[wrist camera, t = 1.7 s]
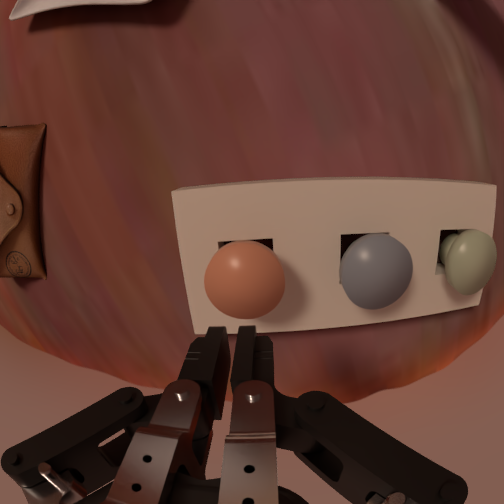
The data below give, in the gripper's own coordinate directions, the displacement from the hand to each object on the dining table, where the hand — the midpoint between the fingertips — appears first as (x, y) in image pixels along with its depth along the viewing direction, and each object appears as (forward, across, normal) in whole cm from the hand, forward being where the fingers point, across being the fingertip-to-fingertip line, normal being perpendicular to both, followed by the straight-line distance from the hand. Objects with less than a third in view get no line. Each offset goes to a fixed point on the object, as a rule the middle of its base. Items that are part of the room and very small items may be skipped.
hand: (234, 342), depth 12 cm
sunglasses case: (+13, +25, -8) cm, 29 cm away
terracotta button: (+10, 0, 0) cm, 10 cm away
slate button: (+10, -9, 0) cm, 13 cm away
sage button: (+10, -18, 0) cm, 21 cm away
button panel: (+12, -9, 0) cm, 15 cm away
